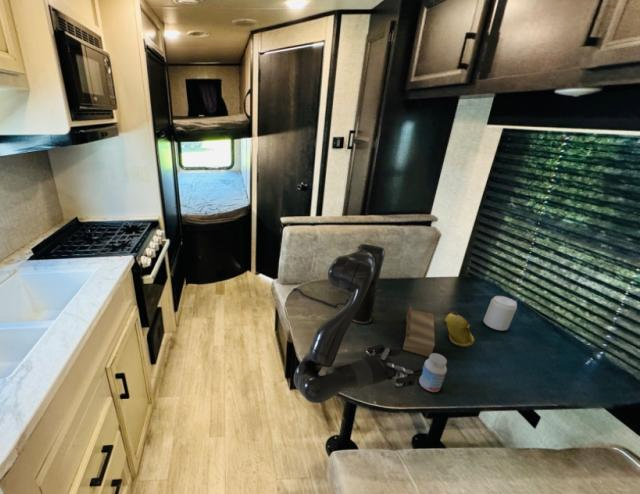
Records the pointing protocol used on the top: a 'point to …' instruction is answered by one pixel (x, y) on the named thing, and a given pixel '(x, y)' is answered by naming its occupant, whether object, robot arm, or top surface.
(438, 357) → the pill bottle
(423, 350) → the striped tan crate
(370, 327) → the top surface
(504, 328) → the white cylinder
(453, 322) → the yellow flared lump
